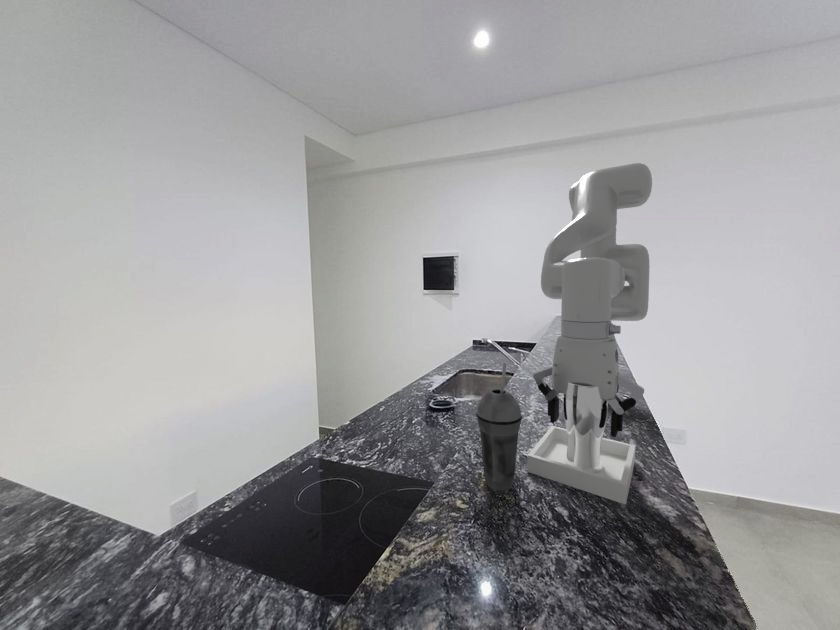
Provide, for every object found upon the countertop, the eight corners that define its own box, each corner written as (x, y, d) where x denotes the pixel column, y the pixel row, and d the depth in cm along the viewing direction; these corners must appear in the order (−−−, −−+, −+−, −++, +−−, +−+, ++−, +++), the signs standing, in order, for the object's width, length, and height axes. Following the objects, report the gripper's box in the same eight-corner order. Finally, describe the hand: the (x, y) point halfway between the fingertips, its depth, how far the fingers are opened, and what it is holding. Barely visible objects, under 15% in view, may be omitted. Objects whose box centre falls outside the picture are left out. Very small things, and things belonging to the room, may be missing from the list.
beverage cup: (468, 475, 55) (467, 361, 54) (504, 466, 58) (504, 357, 56) (492, 501, 49) (491, 371, 47) (531, 489, 51) (532, 366, 50)
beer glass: (595, 453, 60) (597, 375, 59) (613, 475, 54) (617, 387, 52) (556, 452, 61) (558, 375, 60) (570, 473, 54) (572, 387, 53)
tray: (551, 439, 68) (551, 425, 67) (634, 461, 59) (635, 445, 58) (527, 471, 56) (527, 455, 56) (625, 504, 47) (626, 485, 47)
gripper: (647, 331, 53) (644, 431, 54) (540, 325, 64) (540, 409, 65) (644, 337, 47) (640, 450, 49) (527, 330, 58) (526, 422, 59)
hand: (583, 426), depth 57 cm, fingers open, 9 cm apart
